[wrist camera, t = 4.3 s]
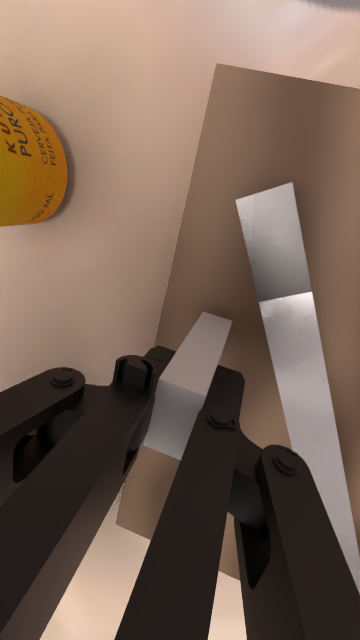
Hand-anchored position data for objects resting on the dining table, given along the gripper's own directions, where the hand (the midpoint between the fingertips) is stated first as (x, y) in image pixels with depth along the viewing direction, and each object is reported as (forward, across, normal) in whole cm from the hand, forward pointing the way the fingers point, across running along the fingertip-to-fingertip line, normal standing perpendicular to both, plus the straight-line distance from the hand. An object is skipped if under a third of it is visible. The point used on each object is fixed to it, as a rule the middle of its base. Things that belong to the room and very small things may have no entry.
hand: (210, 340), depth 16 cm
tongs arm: (+1, +6, -3) cm, 7 cm away
